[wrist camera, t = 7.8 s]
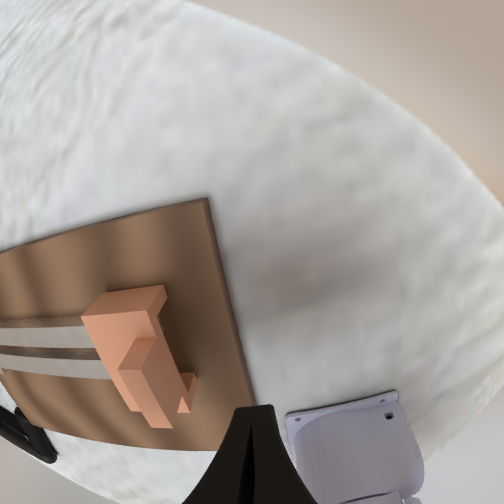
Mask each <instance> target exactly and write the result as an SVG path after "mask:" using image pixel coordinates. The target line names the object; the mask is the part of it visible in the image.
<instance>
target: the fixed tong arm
mask: <svg viewBox="0 0 504 504" xmlns="http://www.w3.org/2000/svg"><path fill="white" fill-rule="evenodd" d="M81 315H82V314H76V315H64V316H50V317H34V318H16V319H0V345H7V346H23V347H45V348H95V347H94V345H93V343H92V340H91V338H90V336H89V334H88V332H87V330H86V328H85V325H84V323H83V321H82V319H81ZM157 318H158V321H159V324H160V326H161V329H162V332H164V327H163V324H162V322H161V319H160V316H159V313H158V315H157Z"/></svg>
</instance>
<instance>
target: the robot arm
mask: <svg viewBox="0 0 504 504" xmlns="http://www.w3.org/2000/svg"><path fill="white" fill-rule="evenodd" d="M397 400H398V393H397V392H396V391H392V392H388V393H385V394H381V395H378V396H374V397H370V398H367V399H363V400H359V401H354V402H350V403H346V404H341V405H337V406H332V407H327V408H322V409H316V410H311V411H305V412H298V413H292V414H288V415H287V416H286V417H285V421H286V427H287V432H288V438H289V443H290V449H291V454H292V460H293V461H294V462H296V467H297V471H296V469H295V467H294V465H293V463H292V462H291V460H290V457H289V455H288V453H287V451H286V449H285V446H284V444H283V442H282V439H281V437H280V434H279V429H278V424H277V420H276V415H275V410H274V406H273V405H271V404H267V405H259V406H249V407H237V408H236V409H235V410H234V413H233V416H232V419H231V422H230V425H229V427H228V430H227V432H226V434H225V436H224V439H223V441H222V443H221V445H220V447H219V449H218V451H217V453H216V455H215V457H214V459H213V460H212V462H211V464H210V465H209V467H208V469H207V470H206V472H205V474H204V475H203V477H202V478H201V480H200V481H199V483H198V484H197V486H196V487H195V488H194V490H193V491H192V492H191V493H190V495H189V496H188V497H187V498H186V500H185V501H184V502H183V503H182V504H403V502H402V499H404V503H405V504H421V501H420V499H418V498H415V497H414V498H413V497H412V495H414V494H416V493H417V492H418V491H420V489H421V487H422V485H423V481H424V464H423V459H422V455H421V452H420V449H419V446H418V444H417V442H416V440H415V437H414V435H413V433H412V431H411V428H410V426H409V424H408V422H407V420H406V418H405V416H404V413H403V411H402V409H401V407H400V405H399V403H398V401H397Z"/></svg>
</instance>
